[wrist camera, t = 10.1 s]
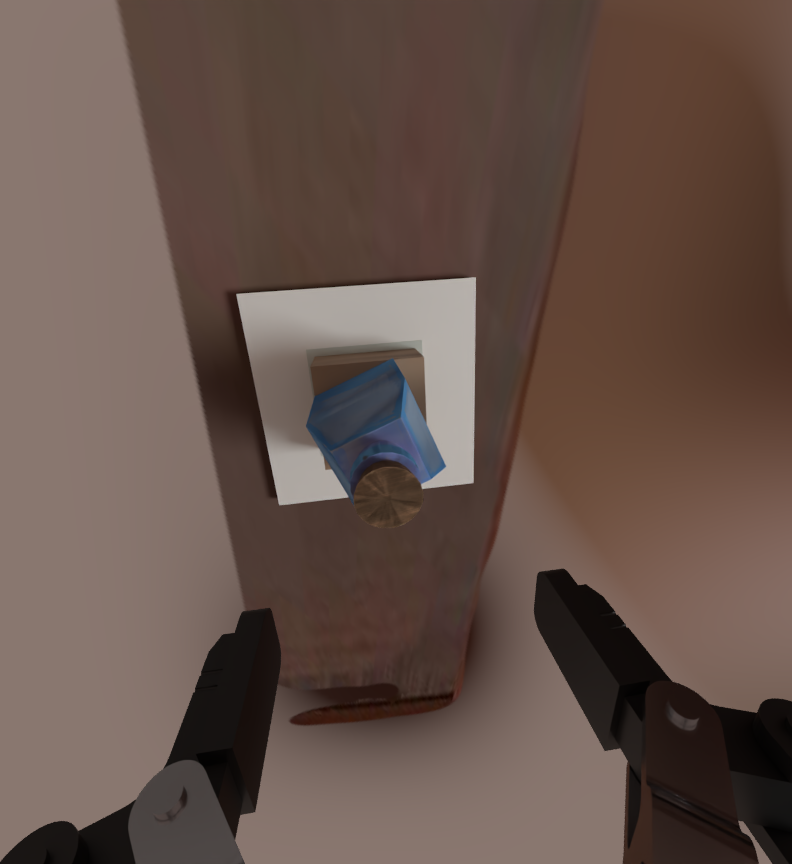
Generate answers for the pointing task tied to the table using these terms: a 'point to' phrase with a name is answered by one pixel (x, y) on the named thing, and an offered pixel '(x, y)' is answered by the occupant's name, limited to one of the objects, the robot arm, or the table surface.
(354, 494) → the perfume bottle
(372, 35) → the table surface
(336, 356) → the walnut block
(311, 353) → the build board
